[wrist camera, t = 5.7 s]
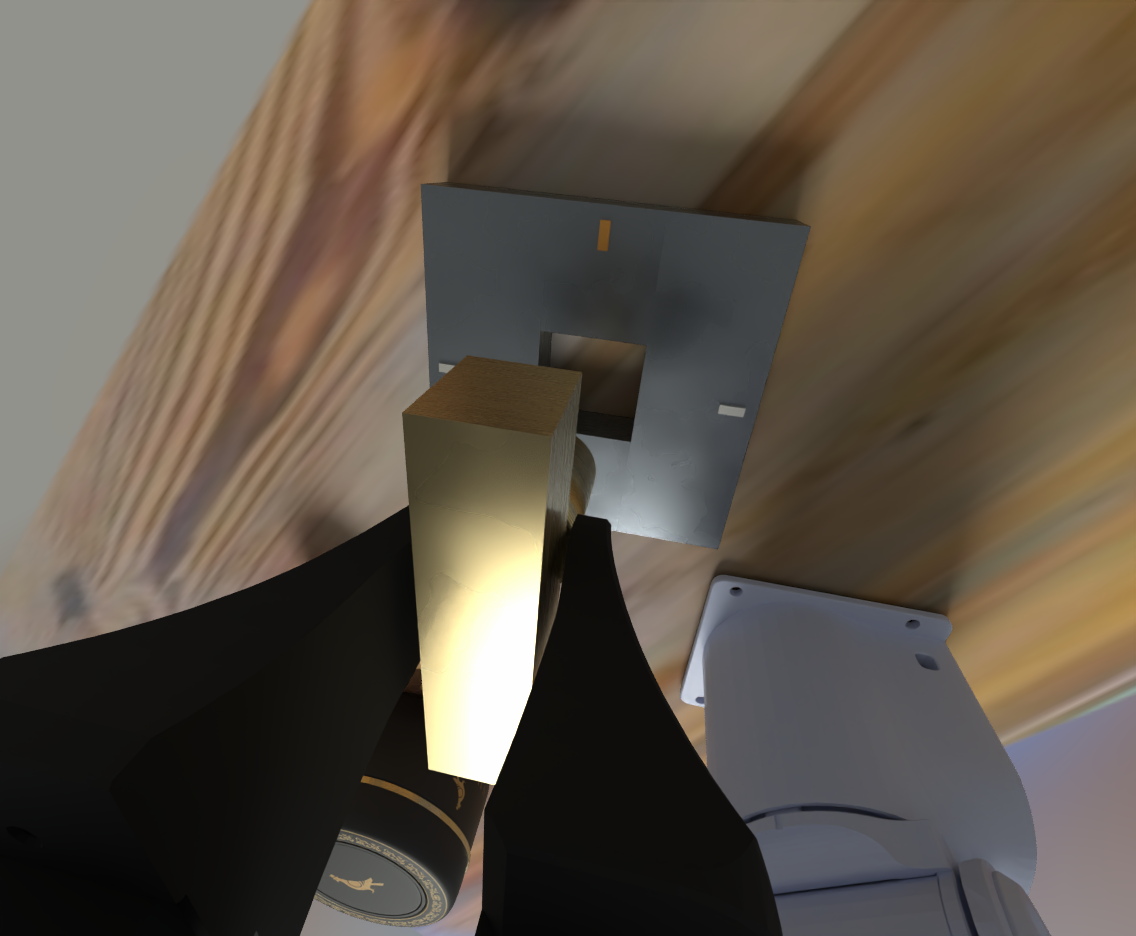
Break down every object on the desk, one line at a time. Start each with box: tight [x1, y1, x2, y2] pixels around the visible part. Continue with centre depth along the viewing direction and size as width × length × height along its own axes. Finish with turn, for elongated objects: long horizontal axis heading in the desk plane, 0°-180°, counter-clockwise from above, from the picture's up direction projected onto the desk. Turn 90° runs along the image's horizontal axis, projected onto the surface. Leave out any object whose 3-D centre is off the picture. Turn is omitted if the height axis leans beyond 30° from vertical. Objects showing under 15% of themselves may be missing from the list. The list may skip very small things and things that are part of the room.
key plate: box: [421, 182, 810, 549], centre depth 19 cm, size 11×11×2 cm
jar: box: [314, 692, 489, 927], centre depth 30 cm, size 10×10×8 cm
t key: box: [402, 355, 596, 785], centre depth 12 cm, size 8×2×6 cm, turn 176°
